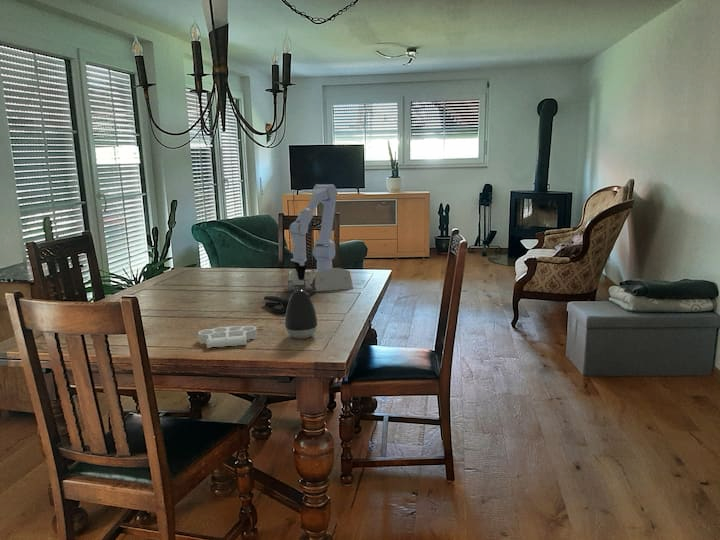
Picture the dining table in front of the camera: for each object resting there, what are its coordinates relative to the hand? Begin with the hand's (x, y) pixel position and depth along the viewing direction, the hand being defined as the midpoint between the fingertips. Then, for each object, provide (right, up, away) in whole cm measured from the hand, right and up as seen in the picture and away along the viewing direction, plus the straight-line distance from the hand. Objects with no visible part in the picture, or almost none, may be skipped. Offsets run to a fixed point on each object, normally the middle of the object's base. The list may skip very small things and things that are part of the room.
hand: (300, 278), depth 245 cm
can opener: (-5, -11, -38) cm, 40 cm away
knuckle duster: (-15, -19, -74) cm, 78 cm away
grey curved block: (+15, -4, -7) cm, 17 cm away
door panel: (0, -2, 0) cm, 2 cm away
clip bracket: (0, -5, -9) cm, 10 cm away
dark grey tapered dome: (+8, -17, -72) cm, 75 cm away
